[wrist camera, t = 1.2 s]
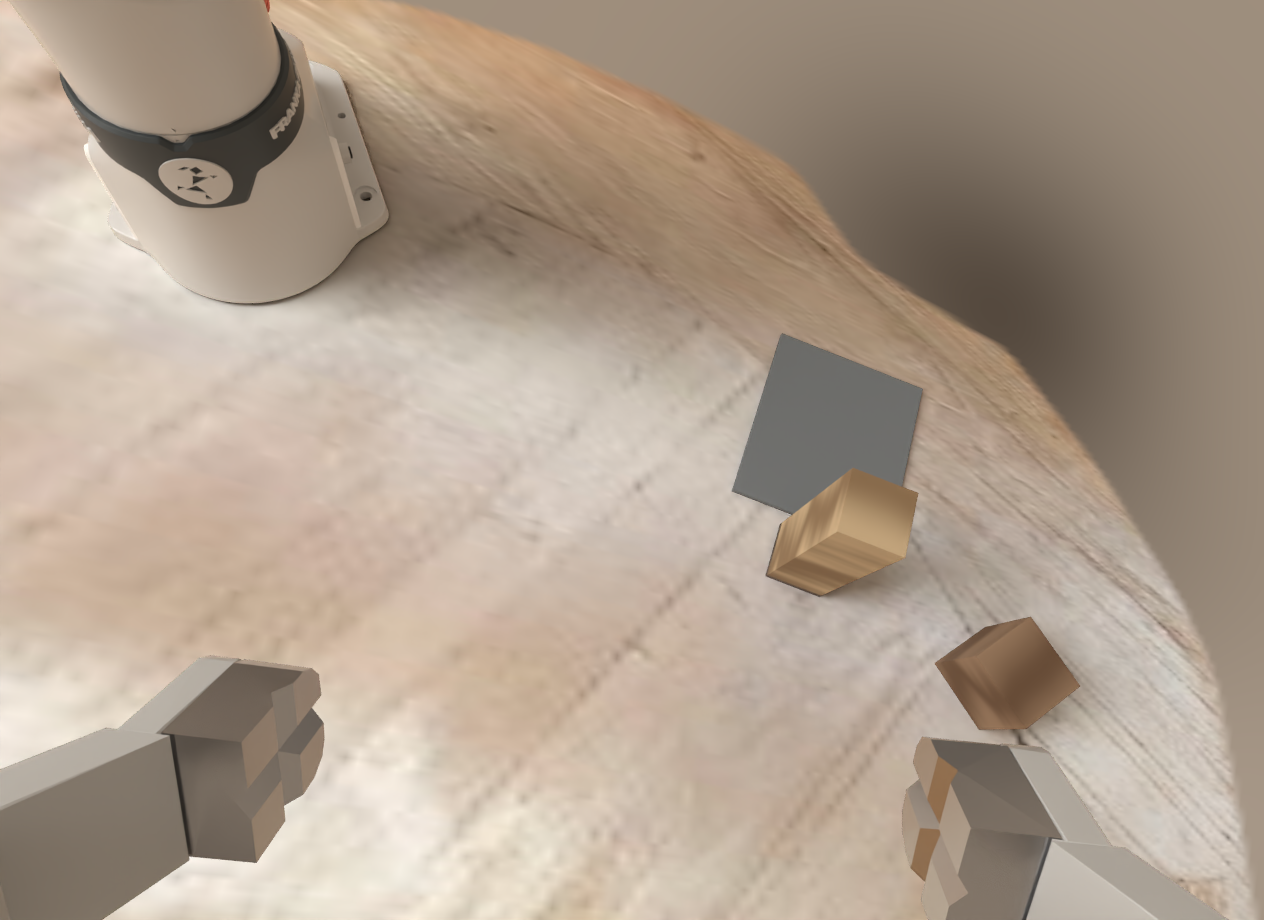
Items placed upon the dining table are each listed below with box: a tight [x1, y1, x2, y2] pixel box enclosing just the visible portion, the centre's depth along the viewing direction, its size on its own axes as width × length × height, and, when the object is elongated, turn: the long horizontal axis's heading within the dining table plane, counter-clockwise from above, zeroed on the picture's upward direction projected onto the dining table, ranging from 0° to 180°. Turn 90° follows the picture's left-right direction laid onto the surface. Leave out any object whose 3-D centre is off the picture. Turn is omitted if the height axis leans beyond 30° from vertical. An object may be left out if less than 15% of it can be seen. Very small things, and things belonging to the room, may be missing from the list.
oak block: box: [766, 468, 918, 596], centre depth 46 cm, size 4×4×12 cm
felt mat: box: [732, 334, 923, 515], centre depth 56 cm, size 14×12×1 cm
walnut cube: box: [935, 617, 1080, 730], centre depth 49 cm, size 5×5×5 cm
